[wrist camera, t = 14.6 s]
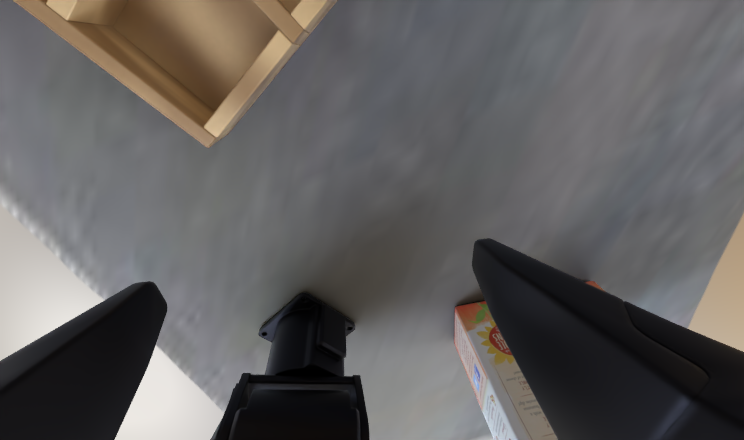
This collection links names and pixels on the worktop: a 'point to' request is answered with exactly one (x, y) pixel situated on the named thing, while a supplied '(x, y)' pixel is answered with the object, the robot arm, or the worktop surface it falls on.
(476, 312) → the cracker box
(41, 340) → the robot arm
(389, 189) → the worktop surface
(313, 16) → the grid
